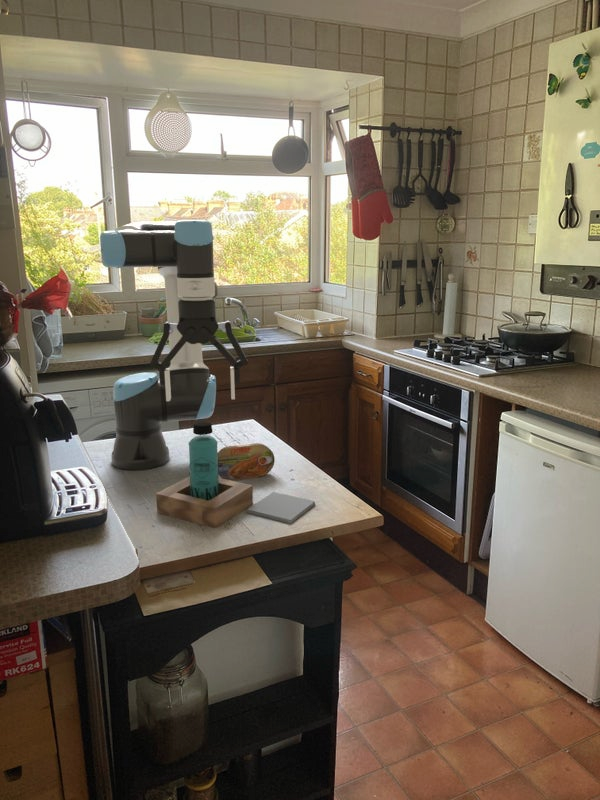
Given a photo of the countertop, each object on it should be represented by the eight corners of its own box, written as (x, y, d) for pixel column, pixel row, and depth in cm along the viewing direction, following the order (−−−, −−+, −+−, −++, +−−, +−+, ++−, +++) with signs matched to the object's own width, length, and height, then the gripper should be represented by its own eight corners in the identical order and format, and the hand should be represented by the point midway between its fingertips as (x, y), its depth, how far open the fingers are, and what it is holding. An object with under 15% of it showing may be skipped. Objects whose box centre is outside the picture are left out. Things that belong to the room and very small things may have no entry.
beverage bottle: (188, 504, 144) (184, 419, 138) (217, 500, 146) (214, 417, 140) (192, 516, 138) (188, 428, 132) (223, 512, 140) (219, 425, 134)
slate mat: (247, 512, 139) (247, 509, 139) (273, 494, 149) (273, 491, 148) (290, 523, 134) (290, 520, 134) (314, 504, 143) (314, 501, 143)
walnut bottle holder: (157, 512, 140) (155, 493, 138) (196, 490, 151) (195, 472, 150) (216, 528, 132) (215, 508, 131) (252, 503, 144) (252, 485, 143)
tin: (215, 481, 157) (214, 449, 154) (214, 477, 159) (212, 445, 157) (275, 475, 160) (274, 444, 158) (272, 471, 163) (271, 440, 161)
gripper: (131, 301, 125) (138, 405, 130) (258, 299, 127) (260, 401, 133) (137, 297, 132) (143, 395, 137) (256, 295, 134) (258, 392, 140)
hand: (201, 398), depth 135 cm, fingers open, 13 cm apart
